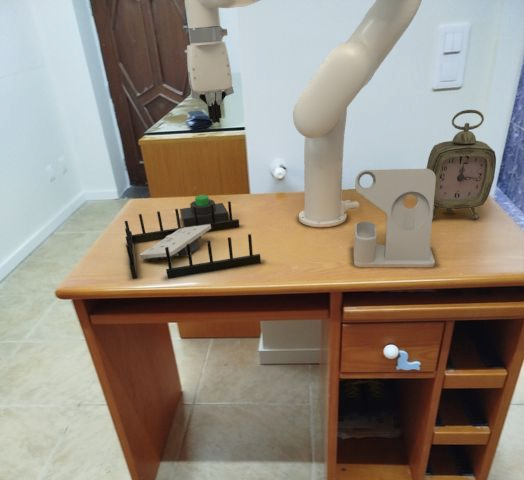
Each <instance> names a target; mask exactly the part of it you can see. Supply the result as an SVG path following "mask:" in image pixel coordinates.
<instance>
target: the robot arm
mask: <svg viewBox="0 0 524 480" xmlns="http://www.w3.org/2000/svg"><path fill="white" fill-rule="evenodd" d="M260 1H261V0H184V8H185V15H186V21H187V29H188V37H189V44H188V45H187V46H186V63H187V72H188V75H187V76H188V84H189V88H190V97H191V99H195V100H201V101H202V102H203V103H205V104H206V106H207V114H208V119H209V120H211V122H212V123H213V124H216V123H218V124H219V123H220V122H221V119H222V110H221V109H222V108H221V105H222V102H223V101H224V100H225V98H226V97H228V96H230V95H233V94H234V93H235V91H234V88H233V76H232V75H233V74H232V68H231V62H230V57H229V53H228V49H227V45H226V42H225V41H223V40H224V39H223V38H224V37H225V36H226V37H227V36H228V29H227V28H223V27H222V26H221V17H220V9H235V8H244V7H248V6H251V5H254V4H255V3H258V2H260ZM422 1H423V0H375V2H374V3H373V4H372V5H371V6H370V8H369V9H368V11H367V12H366V13H365V14H364V16H363V18H362V19H361V21H360V23H359V24H358V26H357V27H356V29H355V30H354V31H353V33H352V34H351V35H350V36H349V38H348V39H347V40H346V41H345V42H343V43H340V44H338V45H337V46H335V47H334V48H333V49H332V50H331V51H330V52H329V53H328V54H327V56H326V57H325V58H324V60H323V61H322V62H321V63H320V65H319V67H318V68H317V70H316V71H315V73H314V75H313V76H312V77H311V79H310V80H309V82H308V83H307V84H306V86H305V88H304V89H303V91H302V92H301V94H300V95H299V97H298V98H297V100H296V102H295V104H294V106H293V111H292V119H293V120H292V121H293V124H294V127H295V129H296V131H297V132H298V133H299V134H300V135H302V136H303V137H304V148H303V154H304V155H303V156H304V157H303V160H304V161H303V163H304V164H303V166H304V167H303V175H304V177H303V178H304V179H303V180H304V182H303V183H304V186H303V188H304V209H303V210H301V211H300V212H299V214H298V221H299V222H300V223H301V224H303V225H305V226H308V227H312V228H313V227H314V228H331V227H335V226H339V225H341V224H343V223H344V222H346V220H347V212H348V210H357V209H359V208H360V203H359V201H358V200H355V201H351V200H350V199H345V200H343V199H342V194H343V192H342V191H343V165H344V164H343V163H344V144H345V134H346V133H345V132H346V124H347V117H348V116H347V115H348V107H349V106H350V105H351V103H352V102H353V100H354V99H355V98H356V97H357V96H358V94H359V93H360V92H361V90H363V88H364V87H366V86H367V85H368V84H369V83H370V81H371V80H372V79H373V78H374V75H375V73H376V72H377V71H378V69H379V68H380V66H381V65H382V63H383V62H384V61H385V59H386V58H387V57H388V56H389V54H390V53H391V52H392V50H393V49H394V48H395V46H396V44H397V43H398V41H399V40H400V39H401V38H402V37H403V35H404V33H405V32H406V31H407V30H408V28H409V27H410V25H411V23H412V22H413V20H414V18H415V16H416V15H417V13H418V11H419V8H420V7H421V4H422ZM211 92H212V93H214V101H212V96H211Z"/></svg>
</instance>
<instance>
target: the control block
mask: <svg viewBox="0 0 524 480" xmlns="http://www.w3.org/2000/svg"><path fill="white" fill-rule="evenodd" d="M211 204H213V206H214V215H215V222H222V221H228V220H230V218H229V210H227V208H226V206H225V205H224V203H223V202H219V203H216V202H215V200H213V199H210V198H209V204H208V205H206V206H197V205H196V202H195V200H193V201H191V202H190V204H189V207H184V208H179V214H180V219H181V222H182V225H183V227H188V226H195V218H194V211H193V206H196V213H197V220H198V225H202V224H208V223H213V221H212V213H211Z"/></svg>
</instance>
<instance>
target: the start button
mask: <svg viewBox="0 0 524 480" xmlns="http://www.w3.org/2000/svg"><path fill="white" fill-rule="evenodd" d="M209 199H210V197H209V195H207V194H200V195H196V196H194V201H195V202H196V205H197V206H206V205H208V204H209Z"/></svg>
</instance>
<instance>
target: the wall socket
mask: <svg viewBox="0 0 524 480" xmlns="http://www.w3.org/2000/svg"><path fill="white" fill-rule="evenodd" d="M210 229H211V225H210V224H209V225H201V226H193V227H185V228H182V227H181V229H178V230H177V231H175V232H174V233H172V234H171V235H168V236H166V237H165V238H164V239H160V241H158V242H156V243H155V244H153V245H152V246H150V247H149V248H147V249H146V250H144V251H142V252H141V253H140V254H139V257H140V259H149V261H150V262H152V261H160V260H167V256H166V250H165V247H168V248H169V254H170V259H173V258H175V257H186V256H187V257H188V252H187V246H186V244H190V250H191V253H193V252H194V251H196V250H197V249H198V248H200V246H199V243H198V242H200V239H201V238H202V236H203V235H204V234H206V233H208V232H207V231H208V230H210Z"/></svg>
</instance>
